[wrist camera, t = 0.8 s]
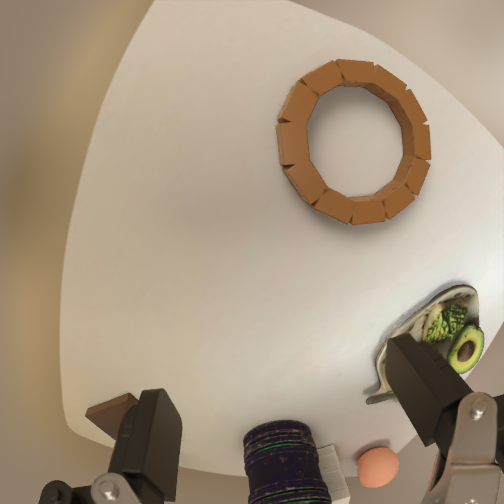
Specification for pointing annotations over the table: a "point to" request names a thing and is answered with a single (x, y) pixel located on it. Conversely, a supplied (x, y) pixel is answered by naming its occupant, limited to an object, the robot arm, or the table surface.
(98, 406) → the peg
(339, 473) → the small box
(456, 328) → the avocado toast plate
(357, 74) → the ring
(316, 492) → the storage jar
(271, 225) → the table surface
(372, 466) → the toy ball
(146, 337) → the table surface
